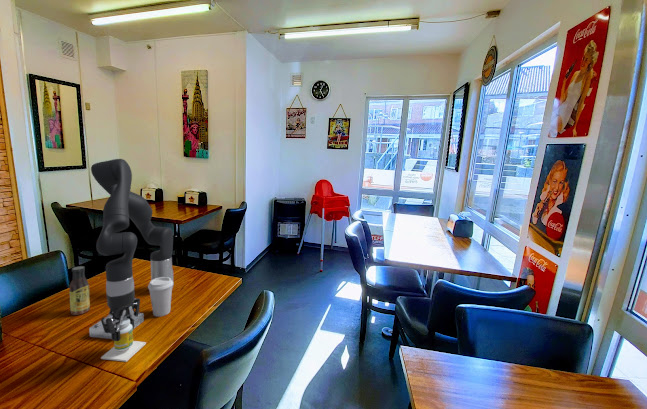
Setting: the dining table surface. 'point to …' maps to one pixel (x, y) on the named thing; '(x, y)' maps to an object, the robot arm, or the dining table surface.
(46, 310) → the dining table surface
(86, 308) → the sauce bottle
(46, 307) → the dining table surface
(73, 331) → the dining table surface
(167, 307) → the coffee cup
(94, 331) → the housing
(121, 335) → the supplement bottle
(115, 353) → the mat
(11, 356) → the dining table surface
